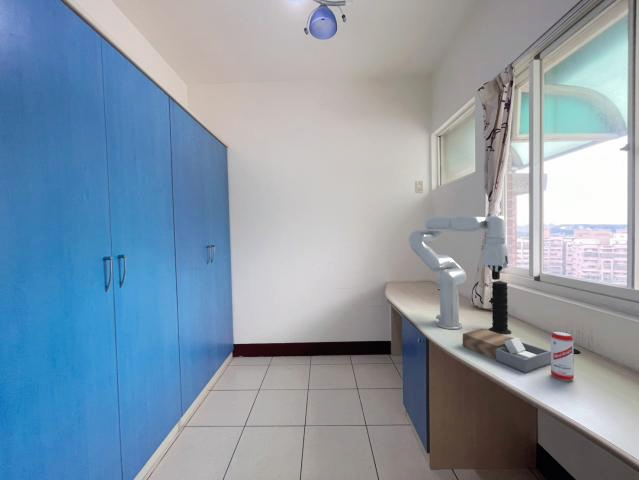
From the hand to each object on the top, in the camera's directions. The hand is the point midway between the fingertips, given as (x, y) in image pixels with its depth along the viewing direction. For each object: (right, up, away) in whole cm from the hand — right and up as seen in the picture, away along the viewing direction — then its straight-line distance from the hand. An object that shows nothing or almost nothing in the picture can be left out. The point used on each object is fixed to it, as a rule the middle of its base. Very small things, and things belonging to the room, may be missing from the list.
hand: (495, 279), depth 138 cm
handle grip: (+9, -29, +11) cm, 32 cm away
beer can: (+1, -30, -36) cm, 47 cm away
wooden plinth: (-10, -30, -12) cm, 33 cm away
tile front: (-4, -26, -26) cm, 37 cm away
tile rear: (-6, -25, -20) cm, 33 cm away
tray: (-4, -30, -24) cm, 39 cm away
